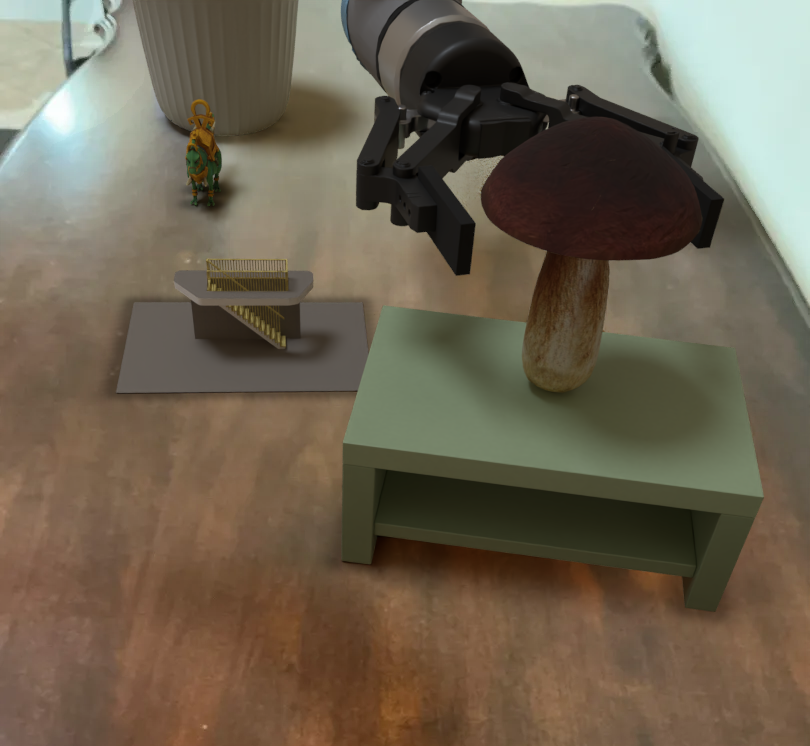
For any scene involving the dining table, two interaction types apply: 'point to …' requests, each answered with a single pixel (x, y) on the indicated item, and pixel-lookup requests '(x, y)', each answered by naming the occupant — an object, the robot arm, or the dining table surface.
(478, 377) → the shelf
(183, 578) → the dining table surface
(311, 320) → the platform
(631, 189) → the decorative mushroom
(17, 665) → the dining table surface
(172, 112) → the canister
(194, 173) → the figurine
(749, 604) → the dining table surface
